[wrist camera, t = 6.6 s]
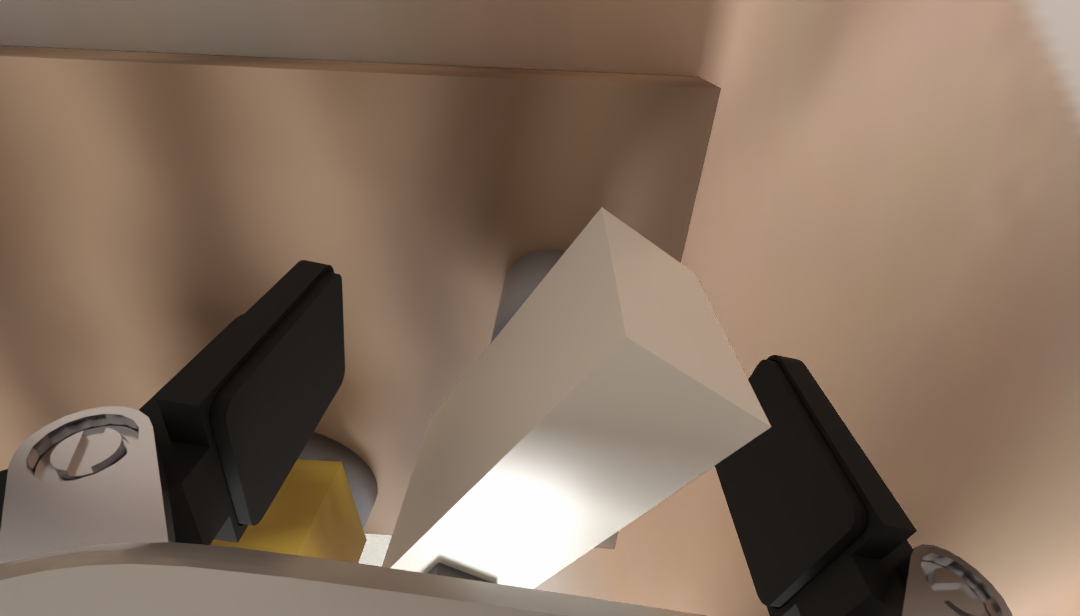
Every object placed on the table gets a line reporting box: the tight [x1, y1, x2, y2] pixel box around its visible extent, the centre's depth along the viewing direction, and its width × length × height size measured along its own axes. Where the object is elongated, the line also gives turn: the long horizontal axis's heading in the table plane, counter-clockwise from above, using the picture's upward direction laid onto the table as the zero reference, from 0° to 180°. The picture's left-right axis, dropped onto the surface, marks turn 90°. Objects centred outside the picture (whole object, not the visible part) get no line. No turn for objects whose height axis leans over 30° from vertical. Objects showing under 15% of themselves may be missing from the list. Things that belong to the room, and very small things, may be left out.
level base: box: [0, 46, 721, 563], centre depth 13 cm, size 26×19×9 cm
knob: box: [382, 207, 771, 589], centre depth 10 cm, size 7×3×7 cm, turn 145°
